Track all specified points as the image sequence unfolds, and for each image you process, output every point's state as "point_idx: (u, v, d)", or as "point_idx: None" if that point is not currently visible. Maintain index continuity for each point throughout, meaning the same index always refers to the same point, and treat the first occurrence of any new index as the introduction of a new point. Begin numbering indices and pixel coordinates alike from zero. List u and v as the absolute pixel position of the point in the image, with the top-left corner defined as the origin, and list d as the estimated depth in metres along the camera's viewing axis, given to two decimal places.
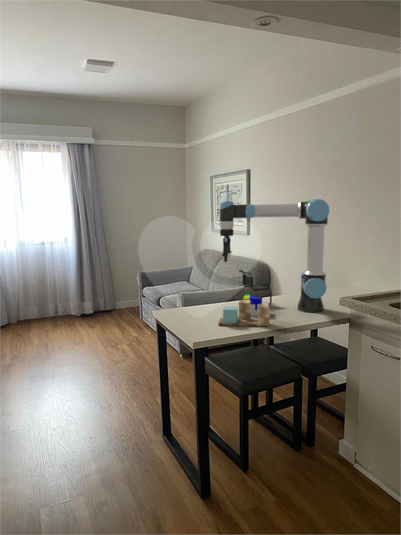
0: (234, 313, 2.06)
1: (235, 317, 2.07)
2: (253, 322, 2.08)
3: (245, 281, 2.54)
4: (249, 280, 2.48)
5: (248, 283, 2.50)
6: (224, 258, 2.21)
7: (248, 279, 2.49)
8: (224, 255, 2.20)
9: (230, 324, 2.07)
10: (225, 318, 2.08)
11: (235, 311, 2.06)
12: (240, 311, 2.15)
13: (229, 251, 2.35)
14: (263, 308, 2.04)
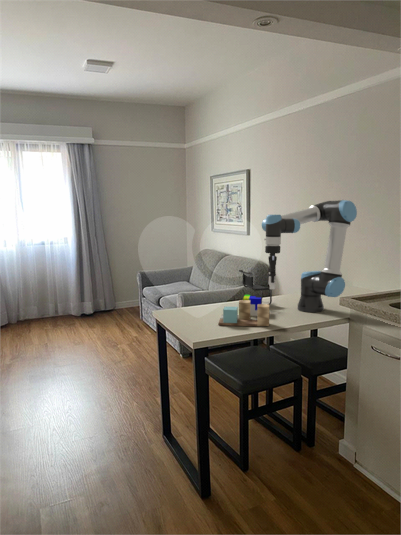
0: (234, 313, 2.06)
1: (235, 317, 2.07)
2: (253, 322, 2.08)
3: (245, 281, 2.54)
4: (249, 280, 2.48)
5: (248, 283, 2.50)
6: (271, 279, 1.96)
7: (248, 279, 2.49)
8: (271, 275, 1.95)
9: (230, 324, 2.07)
10: (225, 318, 2.08)
11: (235, 311, 2.06)
12: (240, 311, 2.15)
13: None
14: (263, 308, 2.04)
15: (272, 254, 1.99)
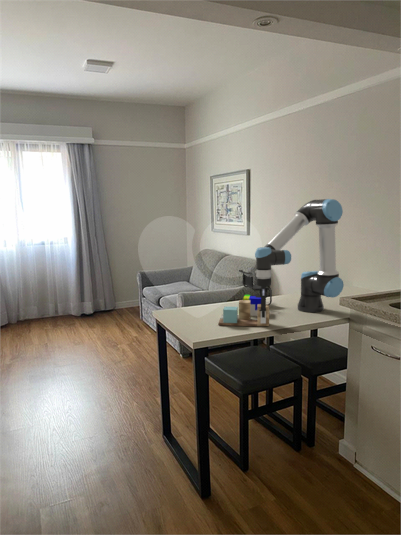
0: (234, 313, 2.06)
1: (235, 317, 2.07)
2: (253, 322, 2.08)
3: (245, 281, 2.54)
4: (249, 280, 2.48)
5: (248, 283, 2.50)
6: (262, 313, 2.03)
7: (248, 279, 2.49)
8: (262, 310, 2.02)
9: (230, 324, 2.07)
10: (225, 318, 2.08)
11: (235, 311, 2.06)
12: (240, 311, 2.15)
13: None
14: None
15: (263, 287, 2.02)
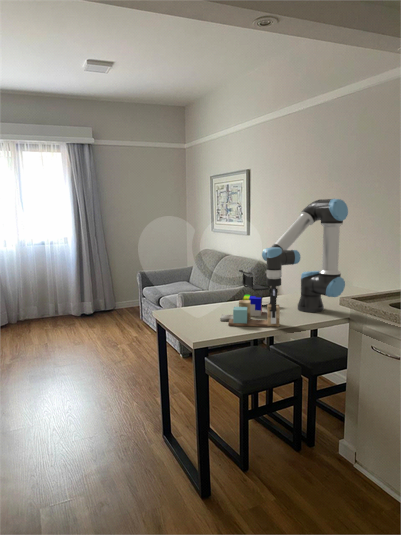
0: (244, 313, 2.06)
1: (245, 317, 2.06)
2: (263, 322, 2.07)
3: (245, 281, 2.54)
4: (249, 280, 2.48)
5: (248, 283, 2.50)
6: (272, 314, 2.02)
7: (248, 279, 2.49)
8: (272, 311, 2.01)
9: (240, 324, 2.06)
10: (235, 318, 2.07)
11: (245, 311, 2.05)
12: None
13: None
14: None
15: (273, 287, 2.01)
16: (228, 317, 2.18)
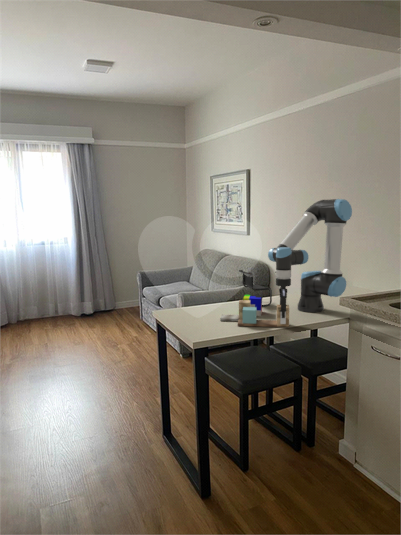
0: (253, 313, 2.05)
1: (254, 318, 2.05)
2: (272, 323, 2.06)
3: (245, 281, 2.54)
4: (249, 280, 2.48)
5: (248, 283, 2.50)
6: (282, 314, 2.01)
7: (248, 279, 2.49)
8: (282, 311, 2.00)
9: (249, 325, 2.06)
10: (245, 319, 2.06)
11: (254, 311, 2.05)
12: (240, 311, 2.15)
13: None
14: None
15: (283, 287, 2.00)
16: (228, 317, 2.18)
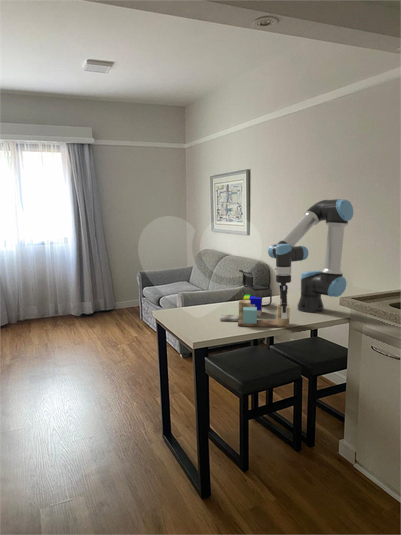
0: (254, 314, 2.05)
1: (255, 318, 2.05)
2: (273, 323, 2.06)
3: (245, 281, 2.54)
4: (249, 280, 2.48)
5: (248, 283, 2.50)
6: (283, 309, 1.98)
7: (248, 279, 2.49)
8: (283, 306, 1.97)
9: (250, 325, 2.06)
10: (245, 319, 2.06)
11: (255, 311, 2.05)
12: (240, 311, 2.15)
13: None
14: None
15: (283, 284, 2.00)
16: (228, 317, 2.18)
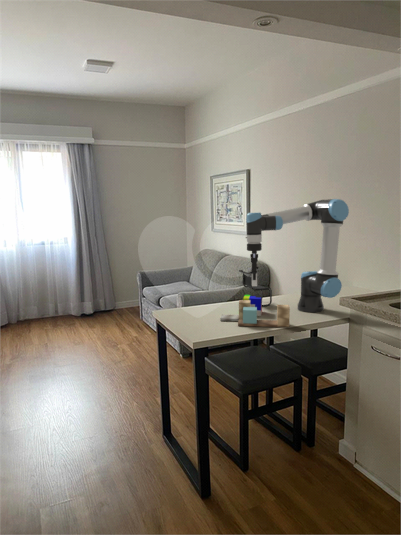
0: (254, 314, 2.05)
1: (255, 318, 2.05)
2: (273, 323, 2.06)
3: (245, 281, 2.54)
4: (249, 280, 2.48)
5: (248, 283, 2.50)
6: (253, 276, 2.00)
7: (248, 279, 2.49)
8: (253, 273, 1.99)
9: (250, 325, 2.06)
10: (245, 319, 2.06)
11: (255, 311, 2.05)
12: (240, 311, 2.15)
13: None
14: (283, 308, 2.03)
15: (253, 252, 2.02)
16: (228, 317, 2.18)
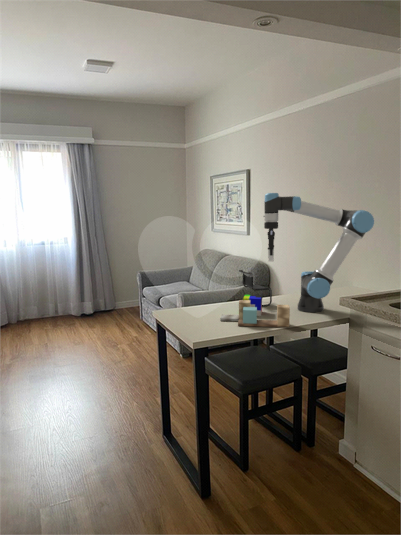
0: (254, 314, 2.05)
1: (255, 318, 2.05)
2: (273, 323, 2.06)
3: (245, 281, 2.54)
4: (249, 280, 2.48)
5: (248, 283, 2.50)
6: (270, 251, 2.14)
7: (248, 279, 2.49)
8: (270, 248, 2.13)
9: (250, 325, 2.06)
10: (245, 319, 2.06)
11: (255, 311, 2.05)
12: (240, 311, 2.15)
13: None
14: (283, 308, 2.03)
15: (270, 229, 2.17)
16: (228, 317, 2.18)
